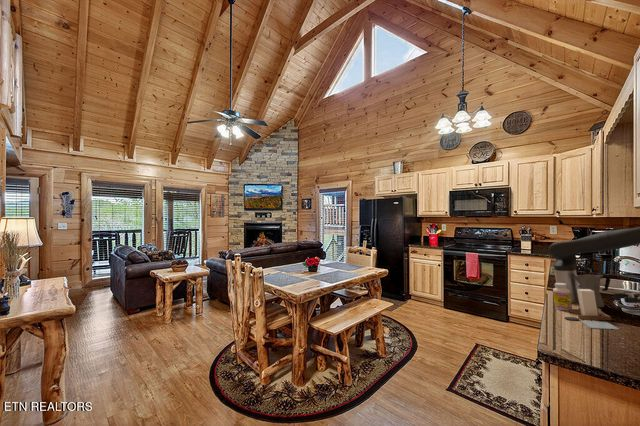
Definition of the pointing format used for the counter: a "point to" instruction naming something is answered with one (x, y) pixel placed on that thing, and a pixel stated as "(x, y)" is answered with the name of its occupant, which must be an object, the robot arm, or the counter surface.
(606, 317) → the corral
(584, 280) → the coffeepot
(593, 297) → the block
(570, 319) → the hole
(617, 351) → the counter surface
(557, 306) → the supplement bottle
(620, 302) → the counter surface
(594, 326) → the tile
